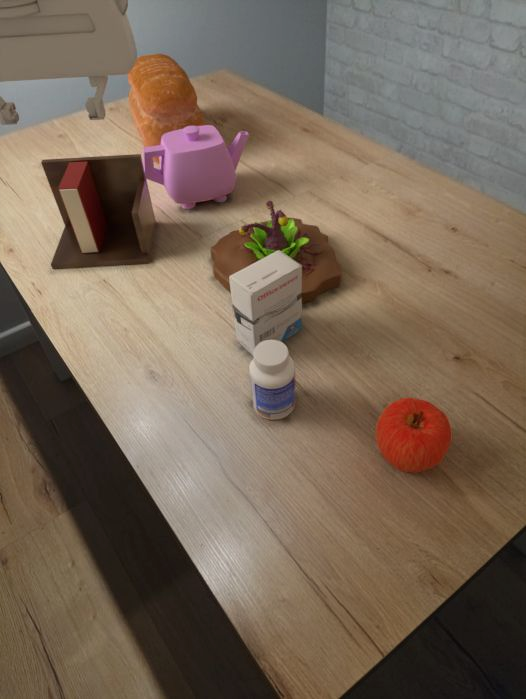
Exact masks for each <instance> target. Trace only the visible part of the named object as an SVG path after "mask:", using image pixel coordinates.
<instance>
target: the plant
mask: <svg viewBox="0 0 526 699" xmlns="http://www.w3.org/2000/svg"><path fill="white" fill-rule="evenodd" d="M265 207H266V209H268V210H269V211H270V214H269V215H270V219H271V220H266V221H260V222H257V221H254V222H253V223H249V224H244V225H241V226H240V227H239V229H235V230H232V231H230V232H229V233H228V234H225V235H224V236H222V237H220V238H219V239H218V240H217V242H216V243H215V244H214V245H212V246H211V247H210V256H211V260H212V261H214V262H213V263H212V272H213V276H214V278H215V279H216V281H218V282H219V283H220V285H221V286H222V287H223V288H224V289H225V290H226V291H228V292H229V294H231V289H230V281H229V276H231V275H232V274H234V273H236V272H238V271H240V270H242V269H244V268H246V267H248V266H250V265H251V264H253V263H255V262H257V261H259V260H261V259H263V258H265V257H266V256H268V255H270V254H272V253H274V252H276V251H277V250H280V251H281V252H283V253H284V254H286V255H287V256H289V257H290V258H292V259H293V260H295V261H296V262H298V263H299V264H300V265H302V305H304V304H306V303H311V302H314V301H315V299H316V298H318V297H319V295H320V294H321V293H323V292H326V291H328V290H331V289H333V288H337V287H340V286H341V284H342V269H341V265H340V263H339V261H338V260H337V256H336V252H335V251H336V250H334V248H333V247H332V246H331V245H330V244H329V235H328V234H324V233H322V232H321V229H320V227H319V226H318V225H314V224H306V223H303V221H302V219H300V218H295V217H288V216H287V214H285V213H284V211H282V210H281V209H278V210H276V211H275V208H274V207H275V203H274V202H273V201H272V200H268V201H266V203H265Z"/></svg>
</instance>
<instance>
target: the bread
mask: <svg viewBox="0 0 526 699" xmlns="http://www.w3.org/2000/svg"><path fill="white" fill-rule="evenodd" d="M127 81H128V83H129V86H130V88H129V95H128V102H129V104H128V105H129V110H130V113H131V116H132V119H133V122H134V124H135V127H136V129H137V131H138V133H139V137H140V138H141V139H142V144H143V146H144V147H151V146H157V145H161V139H162V136H163V135H164V134H165V133H168V132H171V131H175V130H179V129H184V128H185V127H187V126H204V125H207V124H206V120H205V117H204V114H203V112H202V111H201V110H202V109H201V108H200V107H199V105H198V95H197V92H196V89H195V87H194V86H193V84H192V83H191V80H190V78H189V75H188V73H187V72H186V70H185V69H184V68H182V66H180V65H179V63H178V61H176V60H175V59H173V58H172V57H171V56H170V55H167V54H164V53H153V54H147V55H141V56H139V57H137V59H136V63H135V65H134V67H133V68H132V70H131V71H130V73H129V74H127ZM144 147H143V148H144ZM153 162H154V163H157V164H159V165H160V163H159V157H153Z"/></svg>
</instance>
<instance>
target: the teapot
mask: <svg viewBox="0 0 526 699" xmlns="http://www.w3.org/2000/svg"><path fill="white" fill-rule="evenodd" d="M249 135H250V134H249V132H248V131H238V133H237V135H236V136H235V138H234V139H233V141H232V142H231V143H230V145H229V146H227V144H226V142H225V140H224V138H223V136H222V135H221V133H220V131H219V130H218V129H217V128H216V126H214V125H212V124H206V125H204V126H187V127H185V128H184V129H179V130H175V131H171V132H168V133H165V134H164V135H163V136H162V139H161V145H157V146H151V147H142V162H143V167H144V171H145V176H146V180H147V181H148V180H149V181H150V182H154V183H156V184H159V185H163V187H164V189H165V190H166V192H167V194H168V195H169V197H170V198H171V200H172V201H173V202H174V203H175V204H179V205H180V204H181V208H182V209H184V210H189V209H193V208H194V207H195V206H196V203H200V202H201V203H202V202H206V201H211V200H213V201H215V202H218V203H223V202H225V201H226V200H227V199H228V197H227V195H229V194H231V193H232V192H233V191H234V189H235V187H236V184H237V176H236V171H237V168H238V165H239V162H240V160H241V157H242V154H243V152H244V149H245V146H246V145H247V141H248V139H249V137H250V136H249ZM153 157H159V163H160V164H159V163H158V164H159V168H157V167H155V164H154V161H153Z"/></svg>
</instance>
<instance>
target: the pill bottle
mask: <svg viewBox="0 0 526 699" xmlns="http://www.w3.org/2000/svg"><path fill="white" fill-rule="evenodd" d="M253 355H254V356H253ZM253 355H252V356H253V358H252V359H251V361H250V363H249V367H248V372H249V382H250V390H251V399H252V406H253V409H254V411H255V412H256V413H257V415H259V416H260V417H261V418H263V419H266V420H271V421H274V420H282V419H284V418H286V417H288V416H289V415H290V414H292V412H293V410H294V409H295V406H296V364H295V362H294V360H293V358H292V357H291V356H290V353H289V349H288V346H287V345H286V344H285V343H284V342H280V341H277V340H266V341H263V342H261V343H259V344H258V345H257V346H256V347H255V349H254V353H253Z"/></svg>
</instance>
